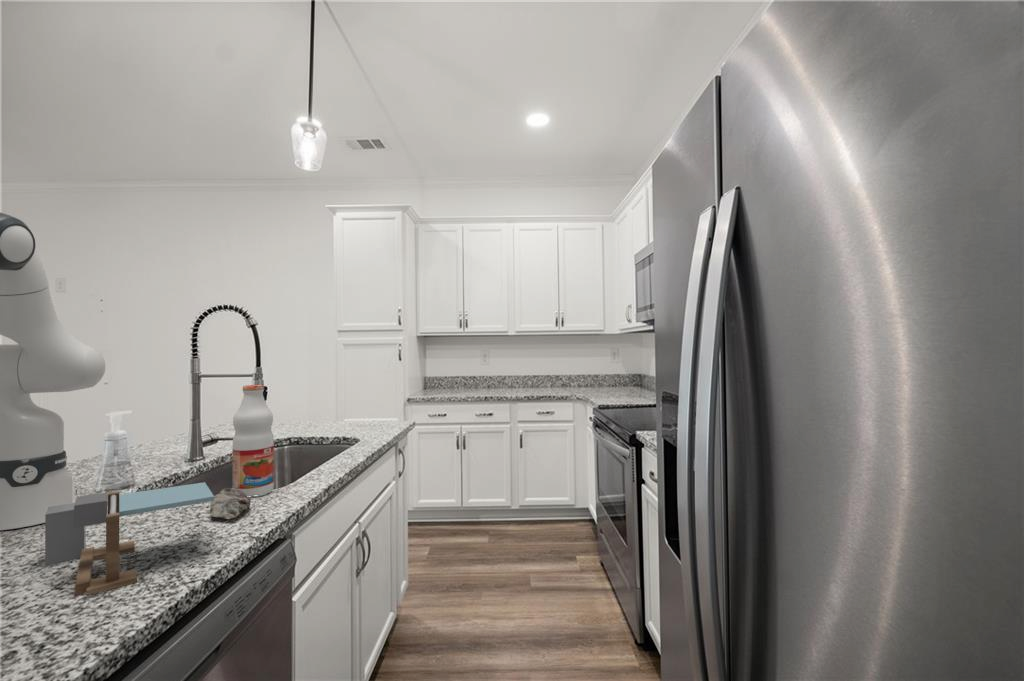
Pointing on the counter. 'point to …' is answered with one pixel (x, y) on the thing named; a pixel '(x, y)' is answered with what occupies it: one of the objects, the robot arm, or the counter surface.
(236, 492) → the mineral rock
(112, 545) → the post frame
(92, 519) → the trapdoor
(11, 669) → the counter surface
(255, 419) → the fruit juice
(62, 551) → the basalt block
